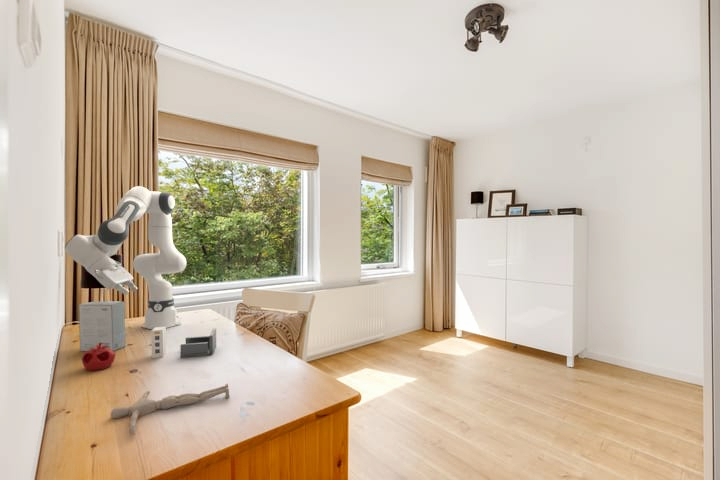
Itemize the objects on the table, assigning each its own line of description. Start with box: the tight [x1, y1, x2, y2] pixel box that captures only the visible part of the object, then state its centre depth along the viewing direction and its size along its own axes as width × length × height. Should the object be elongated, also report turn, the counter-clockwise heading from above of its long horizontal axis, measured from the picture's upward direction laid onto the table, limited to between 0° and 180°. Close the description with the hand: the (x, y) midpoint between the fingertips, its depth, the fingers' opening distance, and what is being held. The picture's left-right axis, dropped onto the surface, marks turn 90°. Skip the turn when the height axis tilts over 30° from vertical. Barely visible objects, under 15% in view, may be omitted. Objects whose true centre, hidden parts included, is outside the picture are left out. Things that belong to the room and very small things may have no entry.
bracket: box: [179, 328, 217, 358], centre depth 147 cm, size 11×12×8 cm
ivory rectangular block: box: [151, 327, 167, 359], centre depth 143 cm, size 5×4×11 cm
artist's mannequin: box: [110, 383, 230, 435], centre depth 101 cm, size 28×4×30 cm
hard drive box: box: [78, 300, 127, 352], centre depth 152 cm, size 16×8×20 cm, turn 84°
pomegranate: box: [81, 342, 116, 371], centre depth 131 cm, size 10×10×9 cm
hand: (131, 291), depth 143 cm, fingers open, 8 cm apart
